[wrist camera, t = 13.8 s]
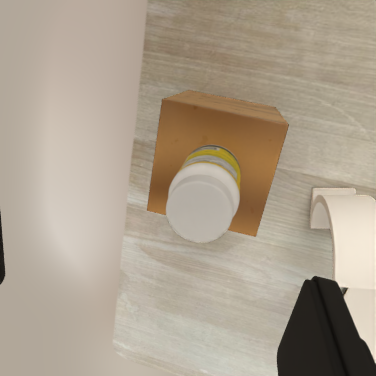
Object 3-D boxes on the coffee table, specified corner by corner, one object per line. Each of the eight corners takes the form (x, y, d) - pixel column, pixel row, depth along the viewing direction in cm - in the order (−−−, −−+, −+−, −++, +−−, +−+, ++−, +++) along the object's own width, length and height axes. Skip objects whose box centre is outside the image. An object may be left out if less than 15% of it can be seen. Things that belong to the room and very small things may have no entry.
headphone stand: (309, 225, 39) (333, 286, 28) (312, 179, 37) (340, 225, 26) (349, 226, 38) (390, 290, 27) (355, 179, 36) (403, 227, 25)
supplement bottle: (217, 208, 27) (205, 263, 19) (173, 175, 27) (143, 218, 19) (253, 166, 25) (256, 209, 17) (206, 131, 25) (188, 158, 17)
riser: (188, 89, 36) (162, 98, 25) (275, 107, 35) (289, 124, 24) (174, 171, 39) (146, 210, 28) (253, 189, 38) (255, 237, 27)
